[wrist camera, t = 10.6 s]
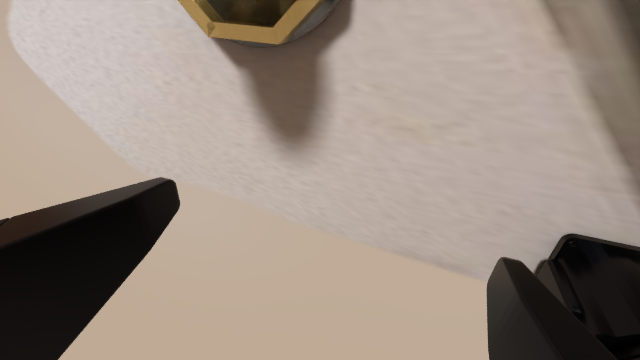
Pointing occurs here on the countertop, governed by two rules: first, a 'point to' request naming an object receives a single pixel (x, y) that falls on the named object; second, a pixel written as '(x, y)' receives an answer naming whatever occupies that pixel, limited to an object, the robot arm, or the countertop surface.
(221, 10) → the black and gold tray
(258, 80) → the countertop surface
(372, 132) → the countertop surface
